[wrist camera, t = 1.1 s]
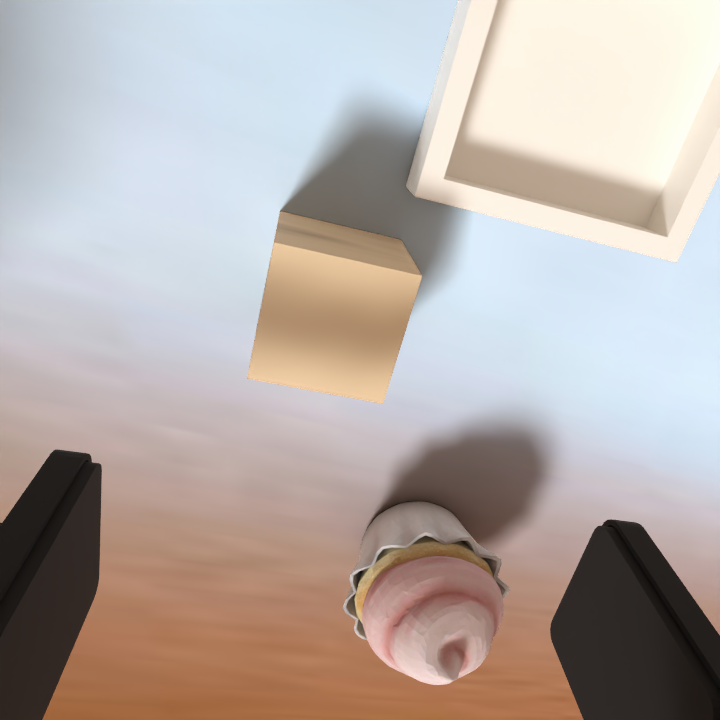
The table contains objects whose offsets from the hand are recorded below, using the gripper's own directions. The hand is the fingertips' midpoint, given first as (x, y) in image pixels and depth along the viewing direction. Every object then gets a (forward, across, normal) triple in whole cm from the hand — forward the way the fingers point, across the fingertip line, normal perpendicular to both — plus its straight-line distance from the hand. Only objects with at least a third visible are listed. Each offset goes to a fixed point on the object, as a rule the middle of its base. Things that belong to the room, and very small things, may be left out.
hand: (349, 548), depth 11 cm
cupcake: (+20, -8, +17) cm, 28 cm away
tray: (+21, -10, -10) cm, 25 cm away
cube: (+20, 0, +2) cm, 20 cm away
